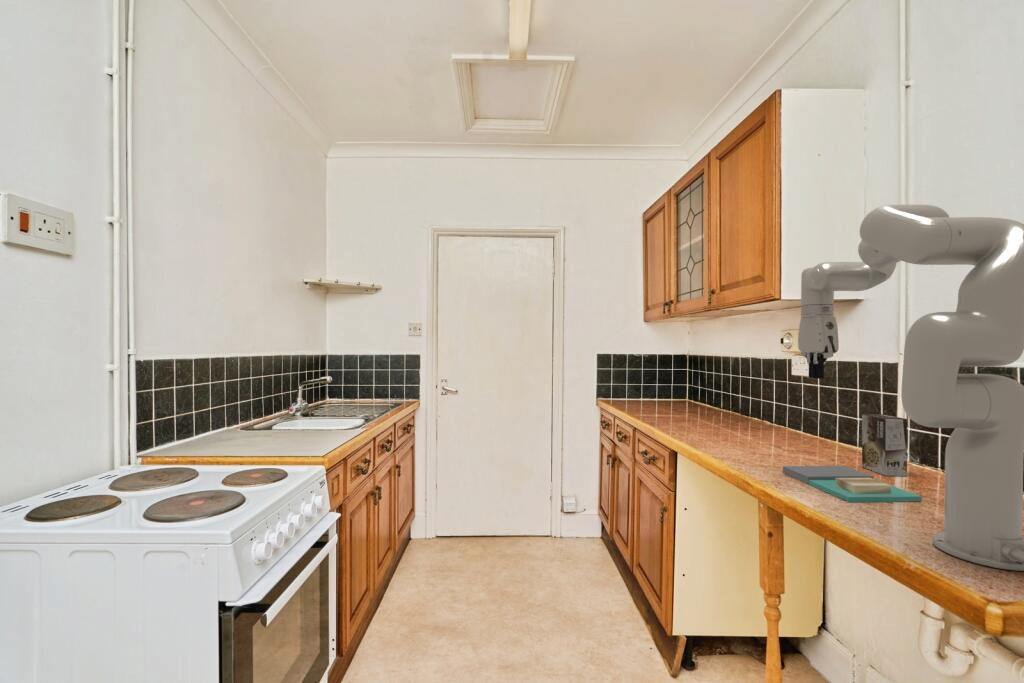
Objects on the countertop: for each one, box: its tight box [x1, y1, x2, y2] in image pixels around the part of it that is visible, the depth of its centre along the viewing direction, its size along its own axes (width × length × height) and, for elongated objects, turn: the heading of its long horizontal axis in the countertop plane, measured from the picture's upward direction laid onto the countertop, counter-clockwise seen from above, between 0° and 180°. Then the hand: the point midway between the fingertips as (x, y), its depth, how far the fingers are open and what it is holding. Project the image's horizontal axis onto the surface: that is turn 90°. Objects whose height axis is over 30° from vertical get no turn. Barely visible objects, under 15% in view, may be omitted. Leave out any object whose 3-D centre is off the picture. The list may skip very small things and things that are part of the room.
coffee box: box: [861, 413, 909, 477], centre depth 131 cm, size 9×6×16 cm
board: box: [782, 465, 874, 485], centre depth 124 cm, size 10×18×2 cm, turn 93°
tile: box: [836, 478, 892, 494], centre depth 110 cm, size 6×9×2 cm, turn 93°
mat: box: [808, 480, 923, 503], centre depth 112 cm, size 13×18×1 cm
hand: (816, 378), depth 125 cm, fingers closed
